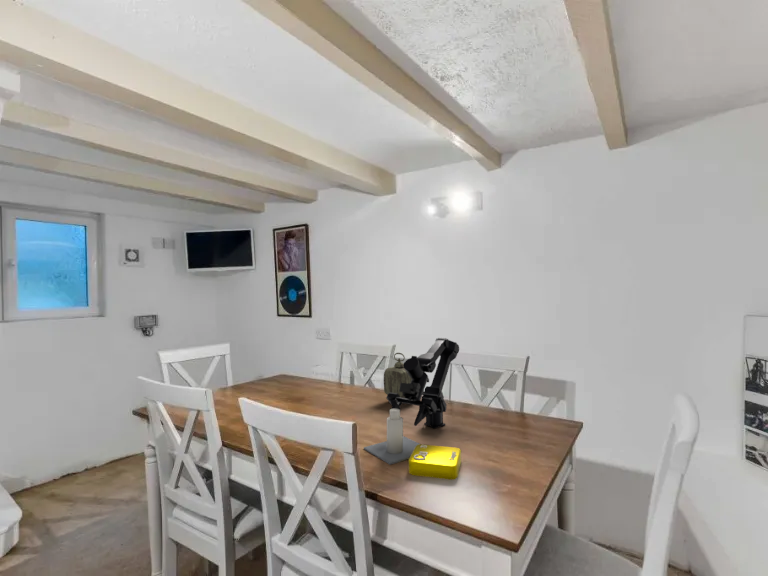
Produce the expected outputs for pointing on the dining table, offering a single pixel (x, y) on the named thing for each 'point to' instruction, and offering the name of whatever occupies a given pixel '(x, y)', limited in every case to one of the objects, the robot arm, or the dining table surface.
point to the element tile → (435, 461)
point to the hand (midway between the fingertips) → (403, 423)
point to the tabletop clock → (396, 377)
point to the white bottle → (394, 432)
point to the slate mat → (389, 458)
